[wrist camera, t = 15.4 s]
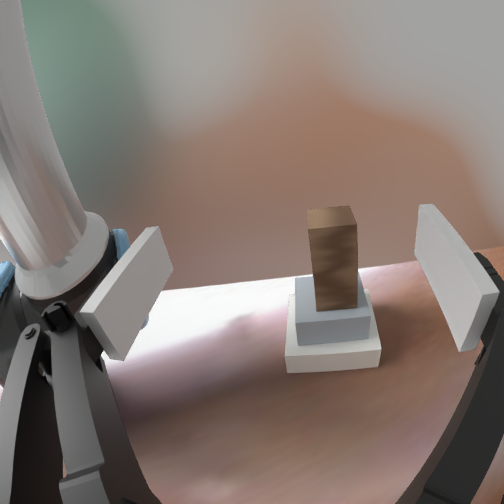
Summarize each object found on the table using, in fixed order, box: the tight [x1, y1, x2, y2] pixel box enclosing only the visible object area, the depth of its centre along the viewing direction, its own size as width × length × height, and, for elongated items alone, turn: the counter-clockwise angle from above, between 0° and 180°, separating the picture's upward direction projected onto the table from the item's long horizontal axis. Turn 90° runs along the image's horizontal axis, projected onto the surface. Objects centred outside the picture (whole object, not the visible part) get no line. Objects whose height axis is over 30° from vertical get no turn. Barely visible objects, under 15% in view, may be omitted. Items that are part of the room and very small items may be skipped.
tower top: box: [295, 272, 371, 345], centre depth 38 cm, size 9×9×4 cm
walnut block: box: [307, 206, 358, 312], centre depth 34 cm, size 5×5×11 cm
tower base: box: [285, 289, 382, 373], centre depth 40 cm, size 12×12×4 cm
